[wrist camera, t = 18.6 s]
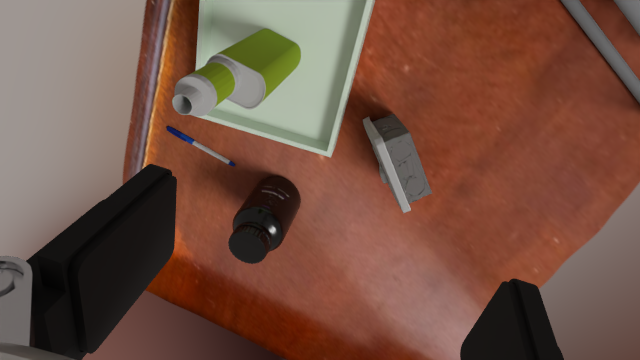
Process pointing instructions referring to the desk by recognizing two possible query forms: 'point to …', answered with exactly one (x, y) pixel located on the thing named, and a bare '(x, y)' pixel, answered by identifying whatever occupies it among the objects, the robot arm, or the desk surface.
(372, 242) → the desk surface
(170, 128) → the ballpoint pen
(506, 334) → the robot arm
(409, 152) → the electrical switch
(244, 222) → the supplement bottle
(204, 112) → the vape
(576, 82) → the desk surface
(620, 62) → the newton's cradle
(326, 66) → the parts tray
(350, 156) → the desk surface
